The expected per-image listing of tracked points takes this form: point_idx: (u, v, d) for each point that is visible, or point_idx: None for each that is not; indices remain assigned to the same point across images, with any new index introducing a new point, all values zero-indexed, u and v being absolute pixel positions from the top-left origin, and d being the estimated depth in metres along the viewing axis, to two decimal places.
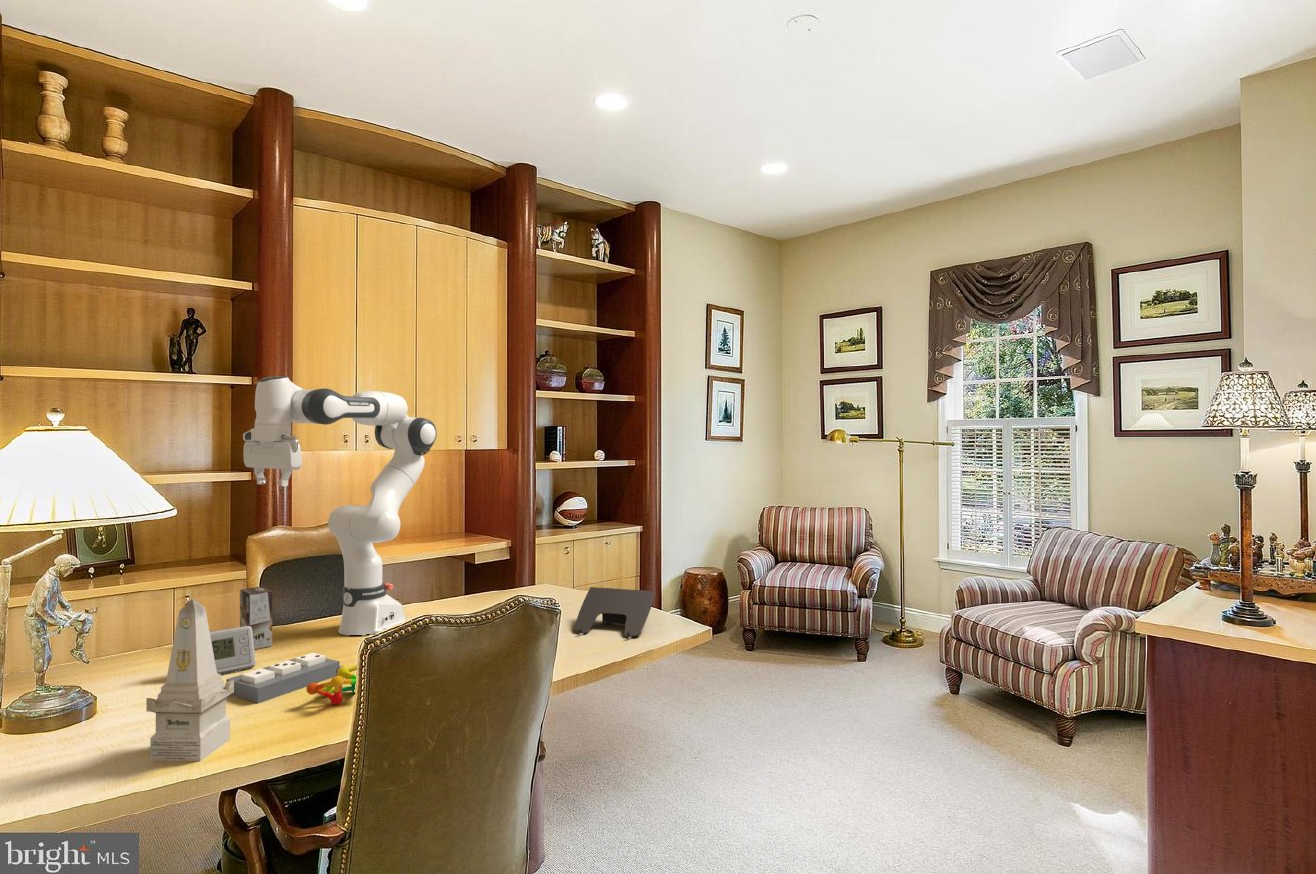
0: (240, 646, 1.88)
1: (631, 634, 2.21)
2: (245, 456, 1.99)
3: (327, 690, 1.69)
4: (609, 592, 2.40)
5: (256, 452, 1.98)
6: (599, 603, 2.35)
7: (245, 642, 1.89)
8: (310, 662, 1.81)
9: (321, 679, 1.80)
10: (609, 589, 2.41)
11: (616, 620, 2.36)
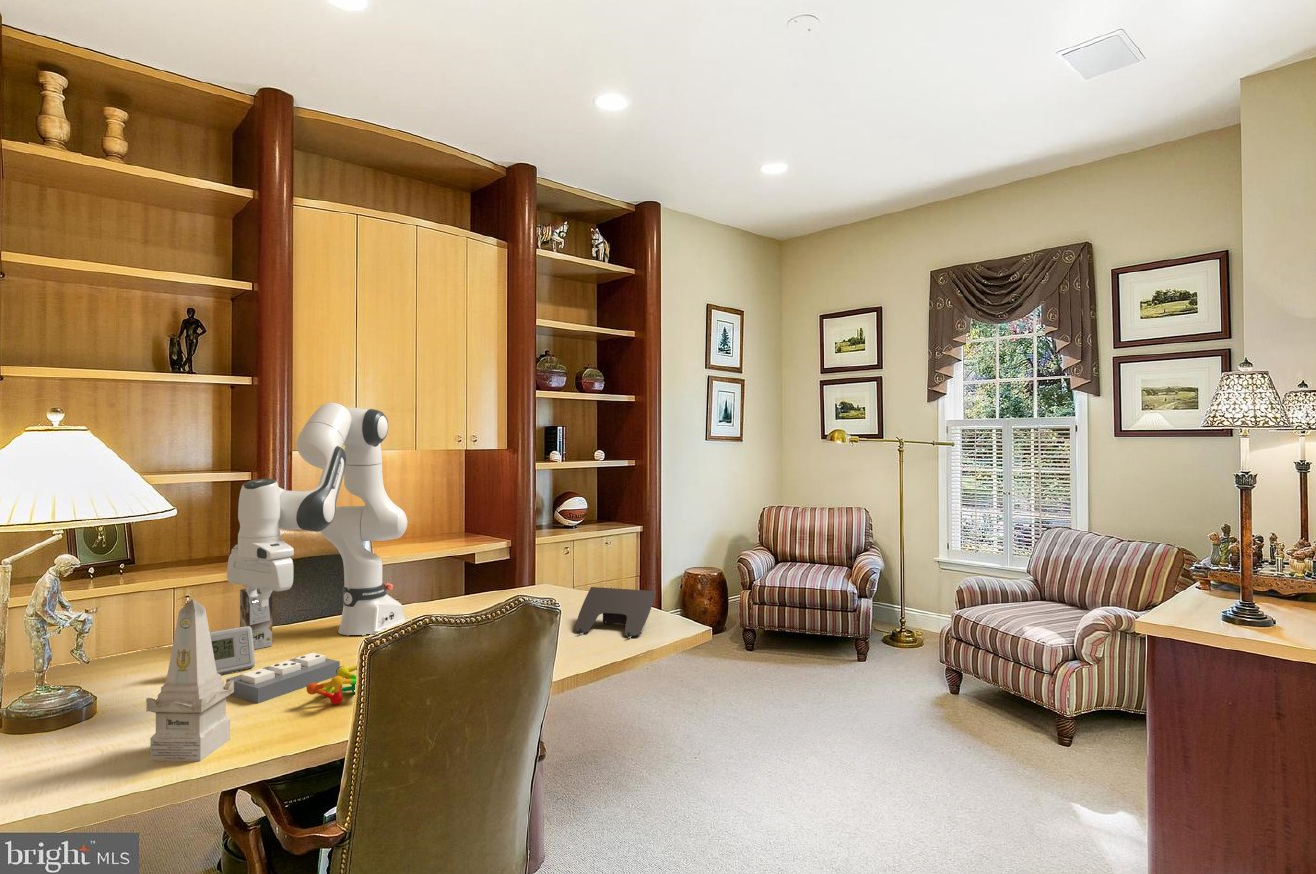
0: (240, 646, 1.87)
1: (631, 634, 2.21)
2: None
3: (327, 690, 1.69)
4: (609, 592, 2.40)
5: None
6: (599, 603, 2.36)
7: (245, 642, 1.88)
8: (310, 662, 1.81)
9: (321, 679, 1.80)
10: (609, 589, 2.42)
11: (617, 620, 2.37)
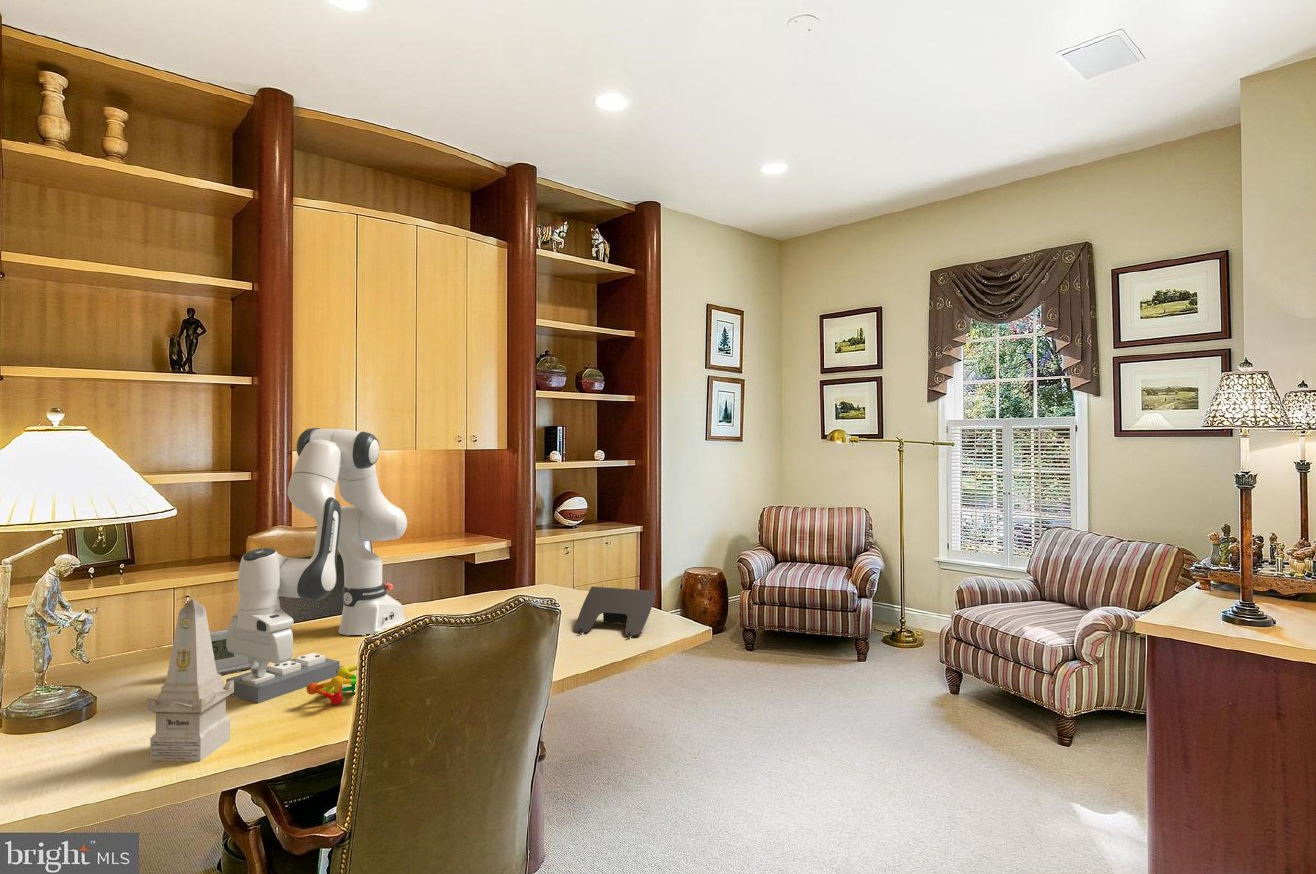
0: None
1: (632, 634, 2.21)
2: None
3: (327, 690, 1.69)
4: (610, 592, 2.40)
5: None
6: (600, 603, 2.36)
7: None
8: (310, 662, 1.81)
9: (321, 679, 1.80)
10: (610, 588, 2.42)
11: (617, 619, 2.37)
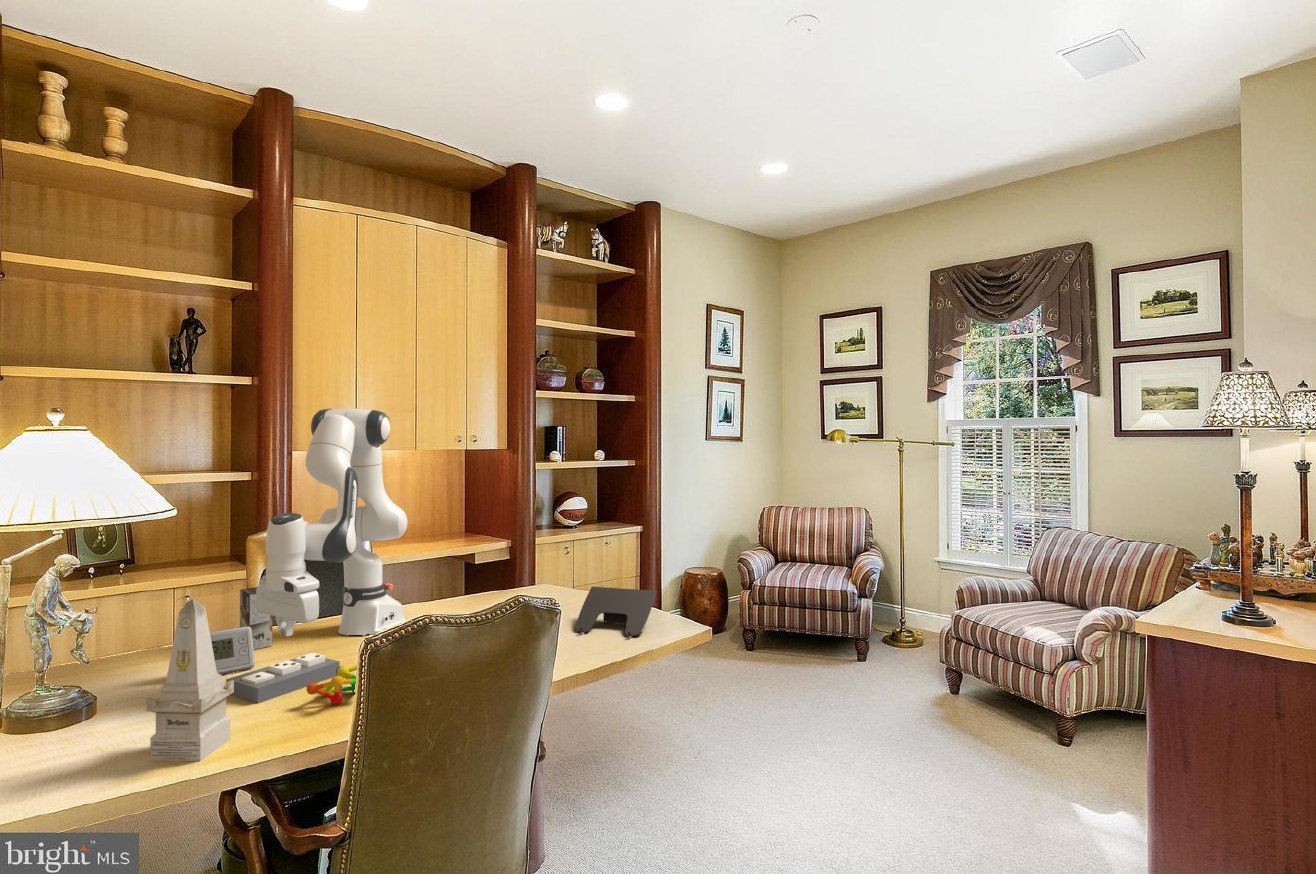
0: (239, 647, 1.87)
1: (632, 633, 2.22)
2: None
3: (327, 690, 1.69)
4: (610, 592, 2.41)
5: None
6: (600, 603, 2.36)
7: (244, 643, 1.88)
8: (310, 662, 1.81)
9: (321, 679, 1.80)
10: (610, 588, 2.42)
11: (617, 619, 2.37)
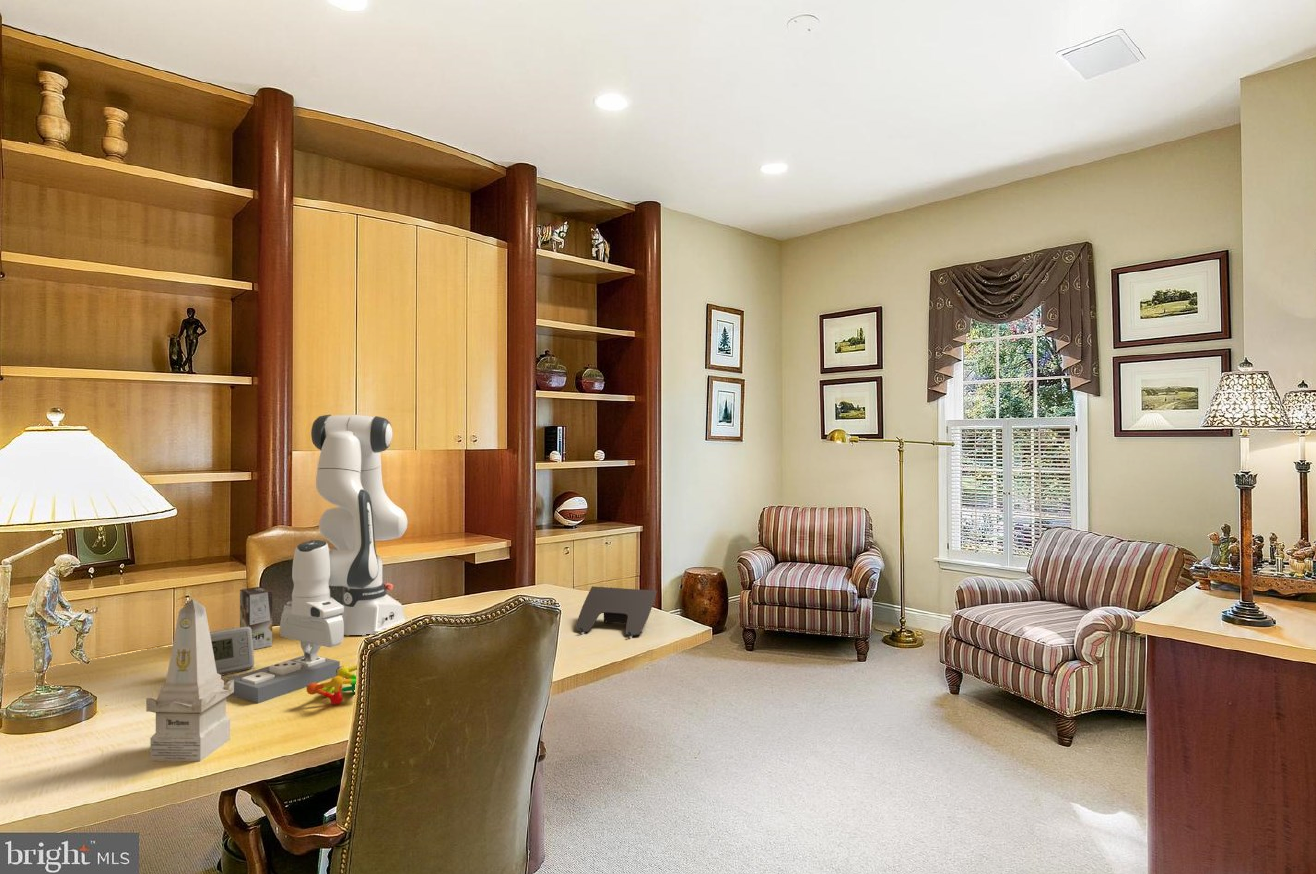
0: (239, 647, 1.87)
1: (632, 633, 2.22)
2: None
3: (327, 690, 1.69)
4: (610, 591, 2.41)
5: None
6: (600, 602, 2.36)
7: (244, 643, 1.88)
8: (310, 665, 1.81)
9: (321, 679, 1.80)
10: (610, 588, 2.42)
11: (617, 619, 2.37)
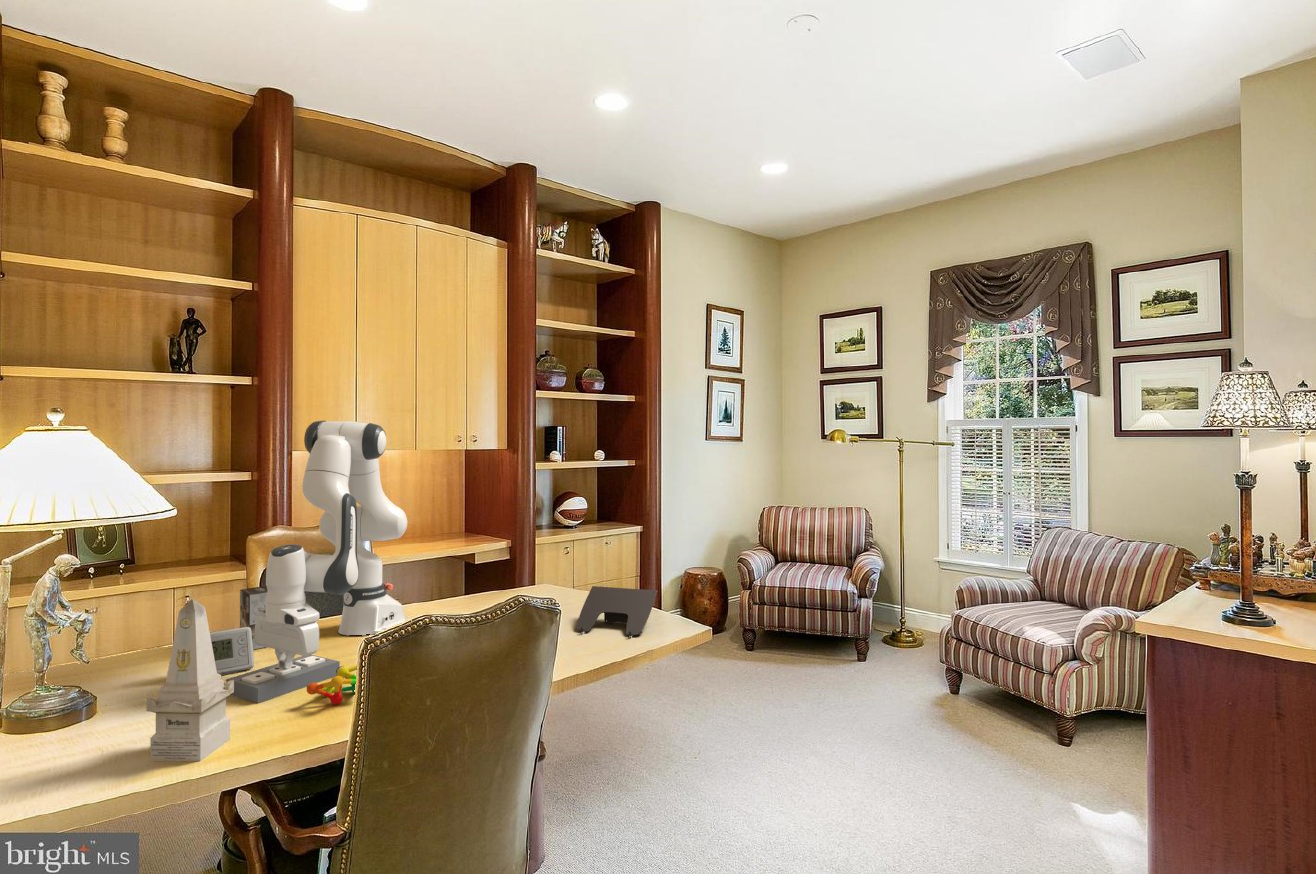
0: (238, 647, 1.87)
1: (632, 633, 2.22)
2: None
3: (327, 690, 1.69)
4: (611, 591, 2.41)
5: None
6: (601, 602, 2.37)
7: (244, 643, 1.88)
8: (310, 665, 1.81)
9: (321, 679, 1.80)
10: (611, 588, 2.43)
11: (618, 619, 2.38)
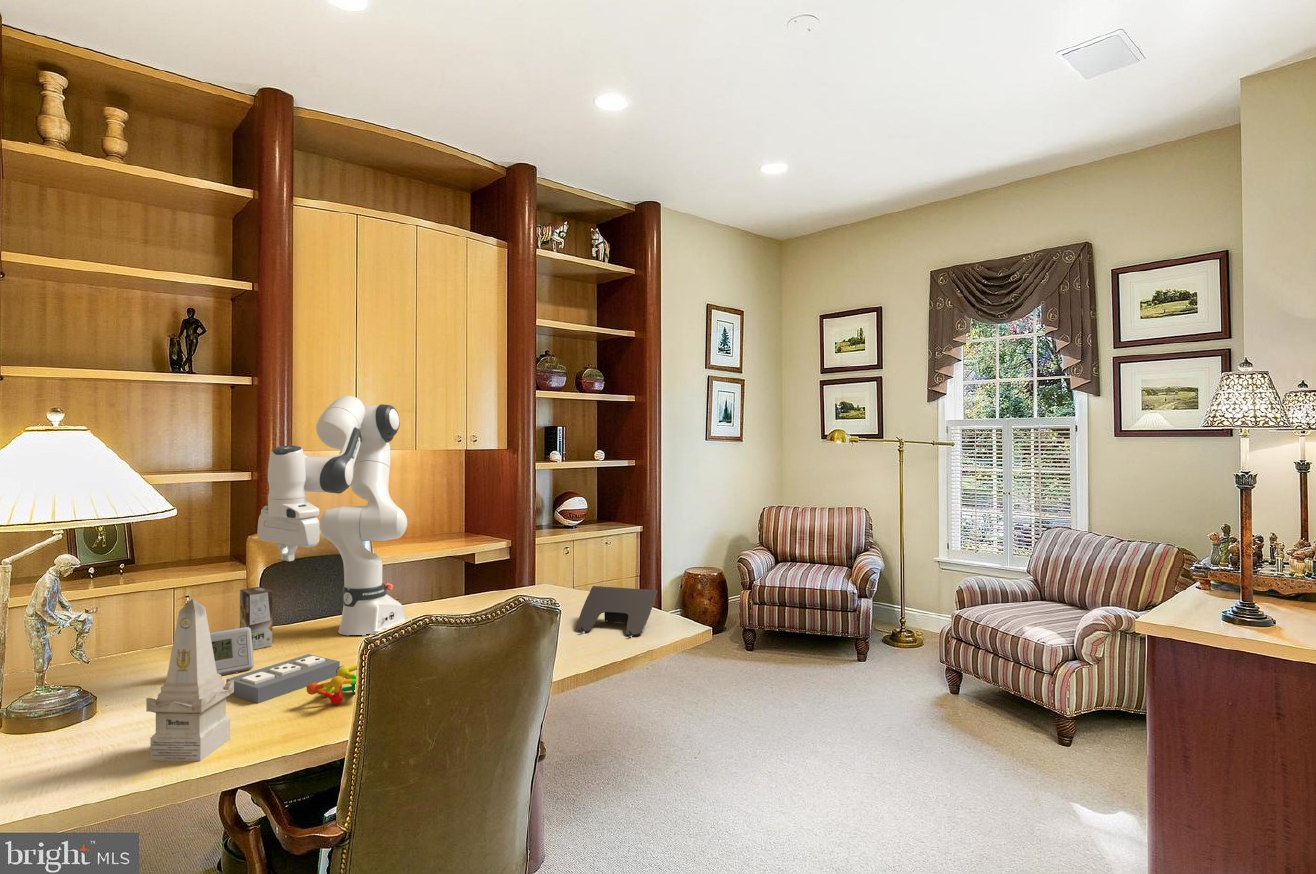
0: (238, 647, 1.86)
1: (633, 633, 2.22)
2: None
3: (327, 690, 1.69)
4: (611, 591, 2.42)
5: None
6: (601, 602, 2.37)
7: (243, 643, 1.87)
8: (310, 665, 1.81)
9: (321, 679, 1.80)
10: (611, 588, 2.43)
11: (618, 619, 2.38)
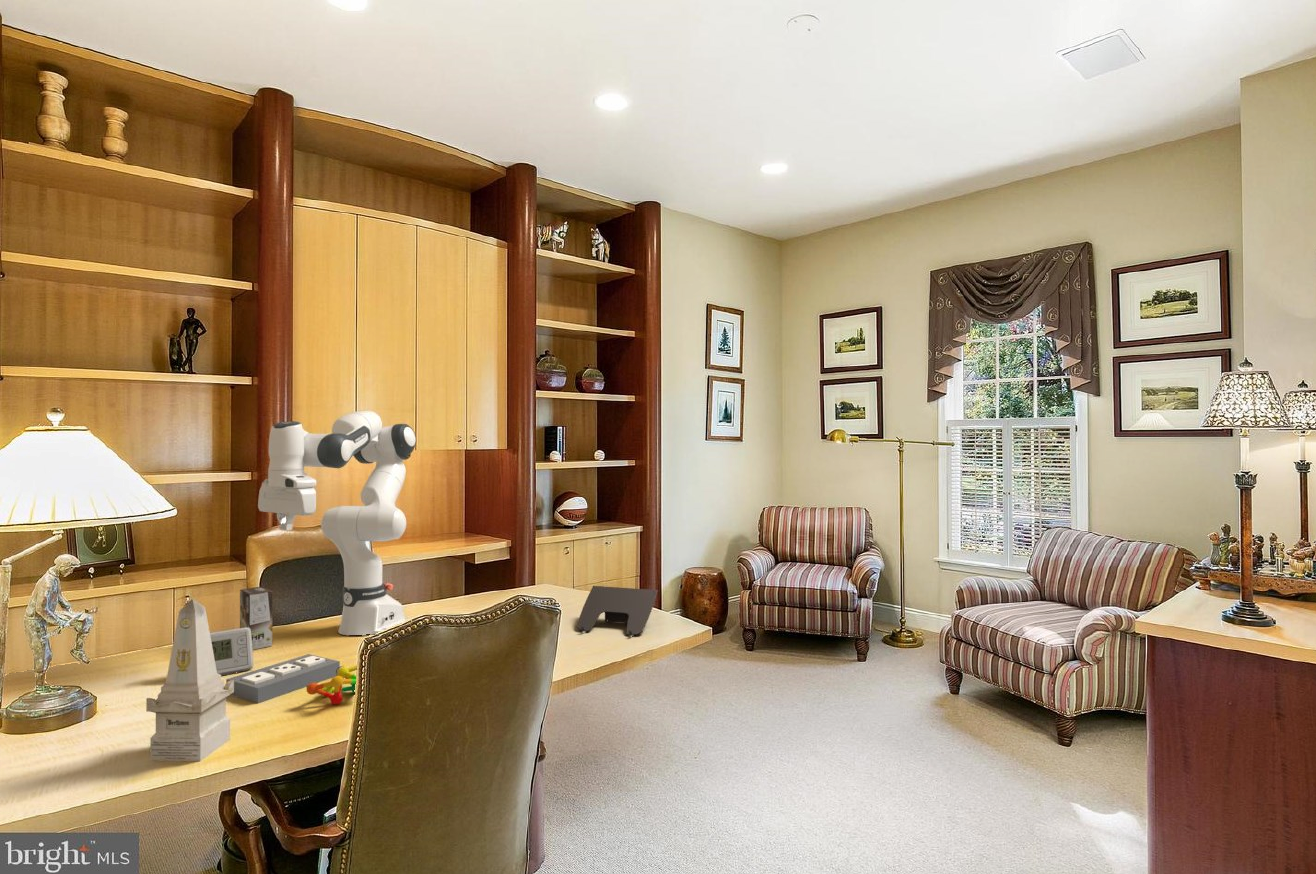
0: (238, 648, 1.86)
1: (633, 632, 2.23)
2: None
3: (327, 690, 1.69)
4: (612, 591, 2.42)
5: None
6: (601, 602, 2.37)
7: (243, 644, 1.87)
8: (310, 665, 1.81)
9: (321, 679, 1.80)
10: (611, 587, 2.43)
11: (618, 618, 2.38)
